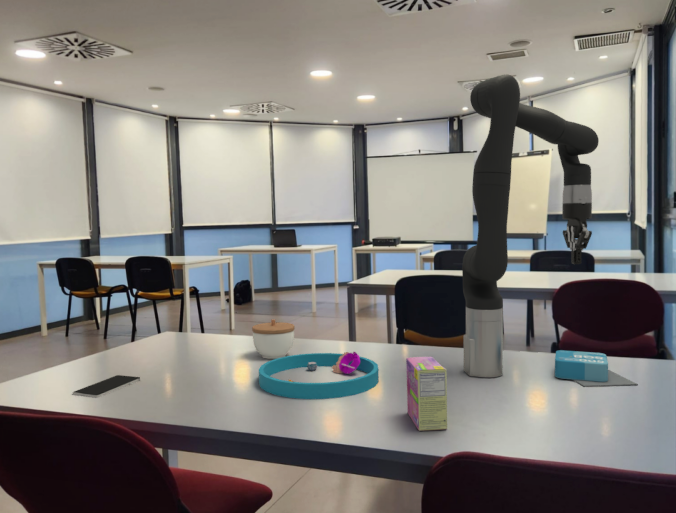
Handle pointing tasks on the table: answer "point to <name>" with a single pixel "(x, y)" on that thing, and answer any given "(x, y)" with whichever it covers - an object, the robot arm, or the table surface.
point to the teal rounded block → (581, 366)
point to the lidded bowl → (273, 339)
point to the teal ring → (319, 390)
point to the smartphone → (107, 386)
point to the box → (427, 393)
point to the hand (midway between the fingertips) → (576, 263)
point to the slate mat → (612, 381)
